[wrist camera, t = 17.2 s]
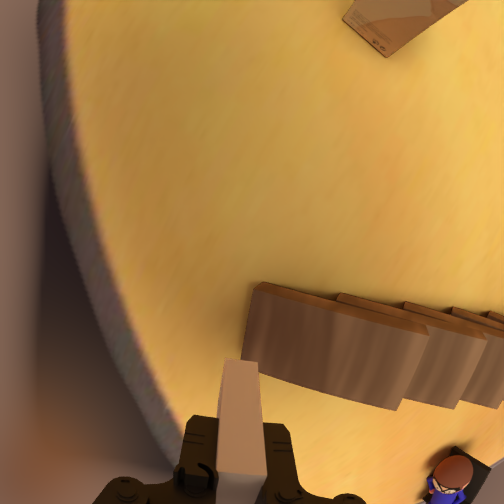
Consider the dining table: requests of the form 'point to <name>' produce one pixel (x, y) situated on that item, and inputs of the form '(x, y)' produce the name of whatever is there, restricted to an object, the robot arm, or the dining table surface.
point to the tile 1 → (332, 346)
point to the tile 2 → (435, 355)
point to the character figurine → (456, 479)
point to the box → (396, 20)
